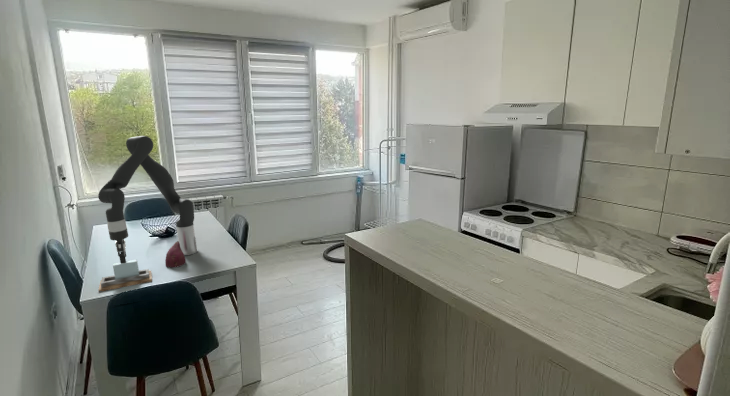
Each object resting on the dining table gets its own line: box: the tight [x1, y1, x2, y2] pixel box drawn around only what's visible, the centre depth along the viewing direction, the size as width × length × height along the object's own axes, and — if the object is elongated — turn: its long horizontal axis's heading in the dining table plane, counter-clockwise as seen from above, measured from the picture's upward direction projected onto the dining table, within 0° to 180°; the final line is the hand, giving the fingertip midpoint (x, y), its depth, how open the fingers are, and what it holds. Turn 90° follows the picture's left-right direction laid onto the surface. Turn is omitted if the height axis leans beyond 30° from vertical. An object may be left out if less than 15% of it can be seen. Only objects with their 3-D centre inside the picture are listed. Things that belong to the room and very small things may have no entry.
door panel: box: [112, 259, 140, 280], centre depth 185 cm, size 10×3×9 cm, turn 120°
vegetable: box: [164, 240, 187, 269], centre depth 207 cm, size 10×10×15 cm
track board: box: [98, 268, 153, 292], centre depth 186 cm, size 22×12×3 cm, turn 121°
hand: (123, 260), depth 184 cm, fingers open, 8 cm apart
